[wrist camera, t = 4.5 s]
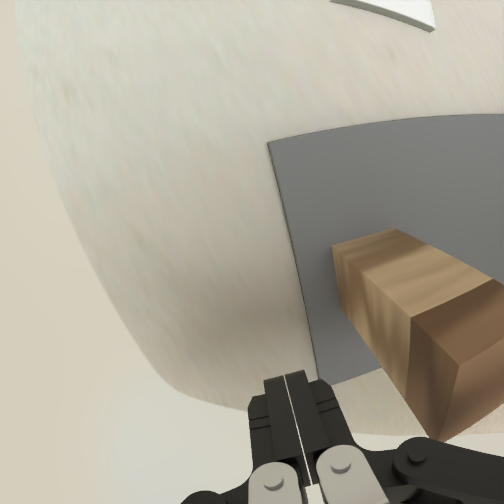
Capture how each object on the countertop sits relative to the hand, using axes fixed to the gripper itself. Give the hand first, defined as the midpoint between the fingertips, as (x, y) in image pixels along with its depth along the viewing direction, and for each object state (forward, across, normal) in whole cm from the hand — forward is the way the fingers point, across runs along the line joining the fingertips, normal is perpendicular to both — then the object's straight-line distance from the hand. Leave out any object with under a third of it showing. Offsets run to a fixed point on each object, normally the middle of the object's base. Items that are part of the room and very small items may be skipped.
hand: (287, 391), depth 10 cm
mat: (+9, -14, 0) cm, 17 cm away
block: (+9, -7, 0) cm, 11 cm away
